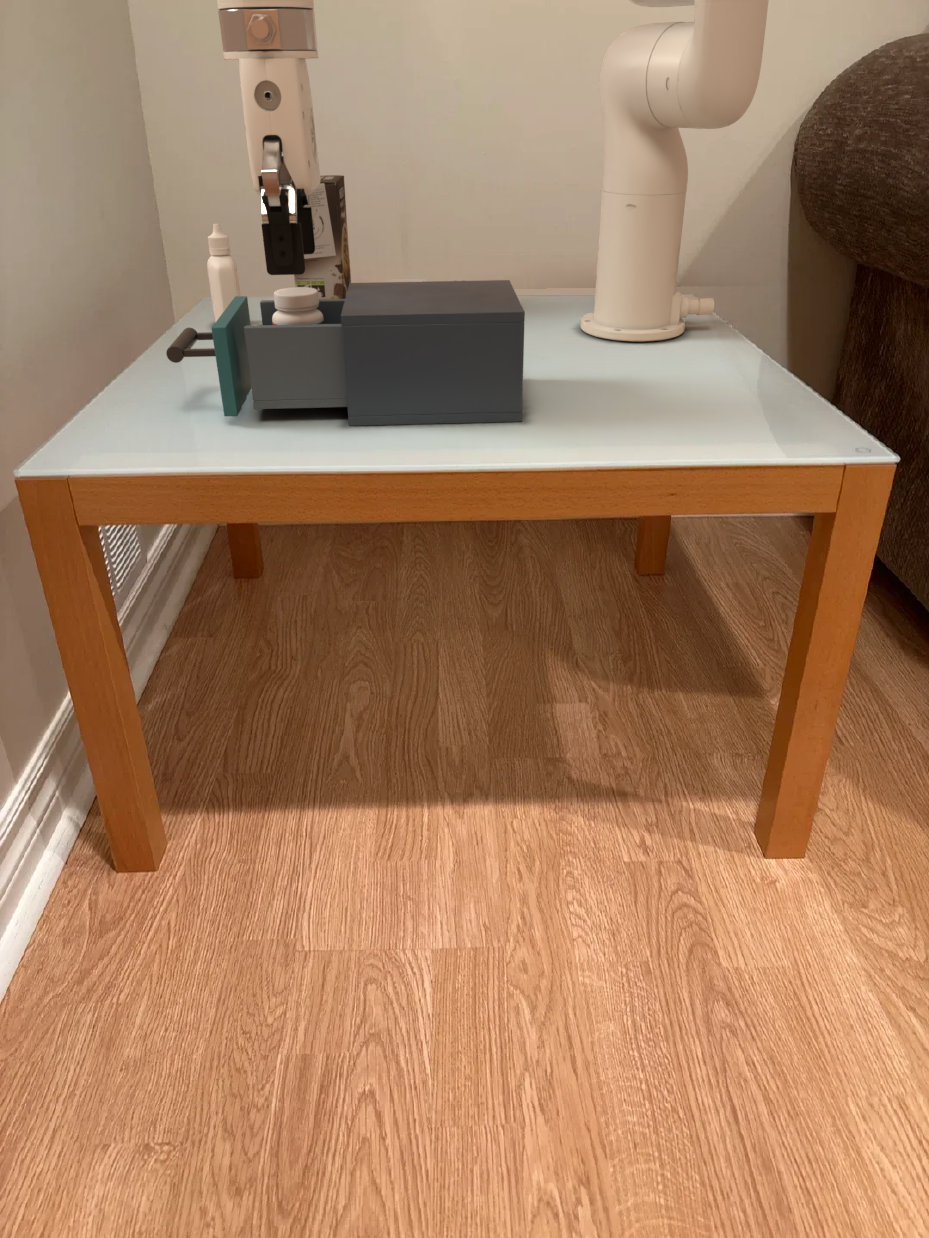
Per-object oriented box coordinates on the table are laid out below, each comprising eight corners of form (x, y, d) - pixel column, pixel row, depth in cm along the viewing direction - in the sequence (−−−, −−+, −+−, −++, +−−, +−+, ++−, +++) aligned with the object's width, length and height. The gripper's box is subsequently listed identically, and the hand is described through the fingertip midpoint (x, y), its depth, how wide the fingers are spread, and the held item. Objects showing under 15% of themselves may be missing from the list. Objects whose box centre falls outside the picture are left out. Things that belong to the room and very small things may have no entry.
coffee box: (346, 318, 119) (336, 181, 111) (296, 318, 119) (283, 181, 111) (354, 303, 127) (345, 174, 119) (307, 303, 127) (296, 174, 119)
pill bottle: (270, 380, 88) (259, 290, 84) (313, 372, 91) (305, 283, 87) (293, 392, 85) (284, 299, 81) (337, 383, 88) (330, 291, 83)
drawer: (168, 418, 83) (152, 328, 79) (196, 377, 93) (183, 297, 89) (386, 413, 83) (381, 324, 79) (388, 373, 94) (384, 293, 90)
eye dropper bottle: (253, 321, 118) (241, 220, 112) (239, 332, 113) (226, 227, 107) (220, 320, 118) (206, 220, 112) (205, 331, 114) (190, 227, 108)
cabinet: (348, 426, 83) (340, 315, 78) (356, 381, 95) (349, 282, 90) (521, 421, 84) (524, 311, 79) (507, 378, 96) (509, 280, 91)
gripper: (306, 35, 66) (327, 282, 75) (324, 40, 81) (340, 246, 90) (201, 36, 66) (235, 284, 75) (239, 41, 81) (263, 248, 90)
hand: (292, 263), depth 82 cm, fingers open, 9 cm apart
